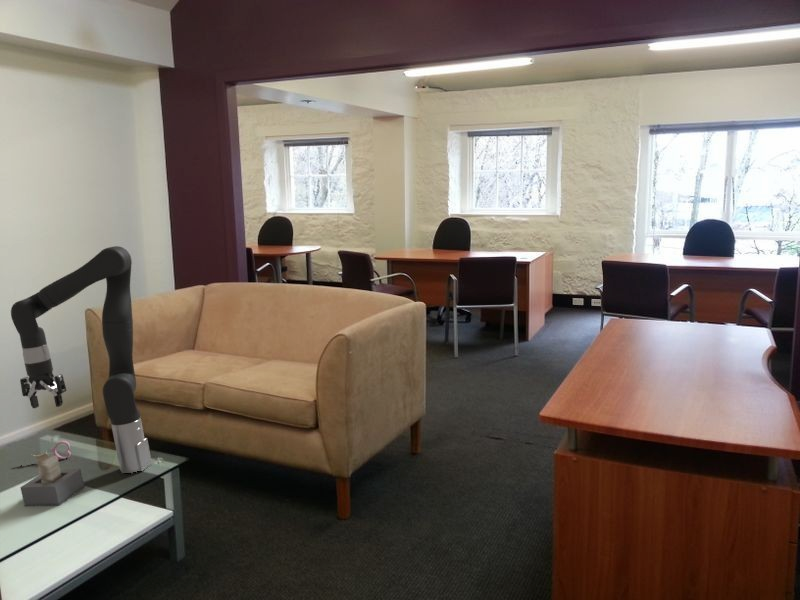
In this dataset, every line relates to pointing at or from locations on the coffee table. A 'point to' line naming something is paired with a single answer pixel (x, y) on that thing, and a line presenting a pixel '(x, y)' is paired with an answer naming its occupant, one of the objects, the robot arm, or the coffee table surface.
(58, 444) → the decorative key
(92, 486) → the coffee table surface
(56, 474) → the wooden peg
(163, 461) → the coffee table surface
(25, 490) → the well block
